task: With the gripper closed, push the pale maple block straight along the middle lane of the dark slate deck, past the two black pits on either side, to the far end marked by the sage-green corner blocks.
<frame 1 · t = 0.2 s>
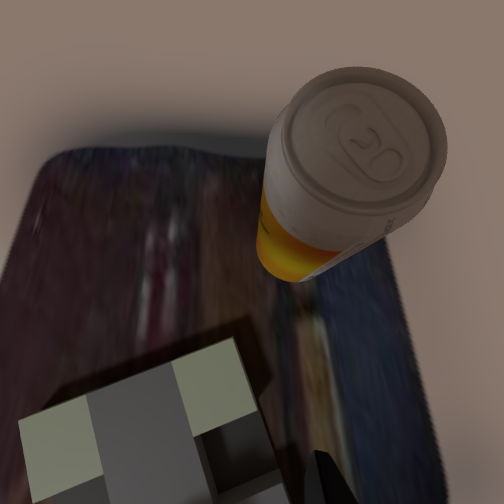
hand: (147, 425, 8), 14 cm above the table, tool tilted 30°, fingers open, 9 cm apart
beer can: (292, 247, 24), on the table
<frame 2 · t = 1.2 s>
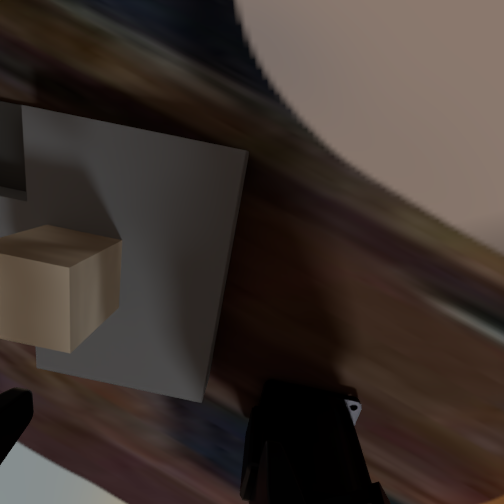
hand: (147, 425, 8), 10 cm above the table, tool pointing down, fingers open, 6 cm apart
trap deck: (65, 247, 17), on the table
block: (84, 267, 15), point 2 cm above the table, touching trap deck
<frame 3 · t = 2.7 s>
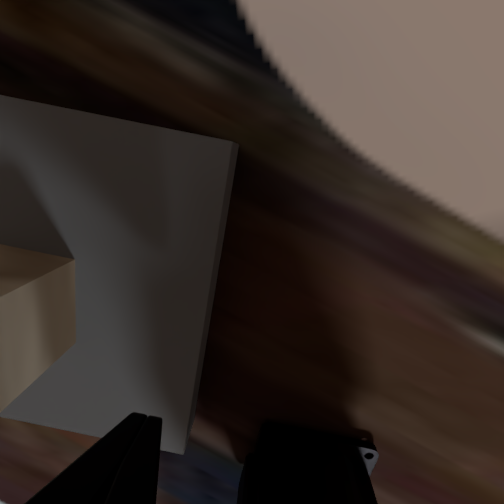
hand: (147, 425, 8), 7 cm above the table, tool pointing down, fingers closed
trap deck: (12, 265, 14), on the table
block: (29, 293, 12), point 2 cm above the table, touching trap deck
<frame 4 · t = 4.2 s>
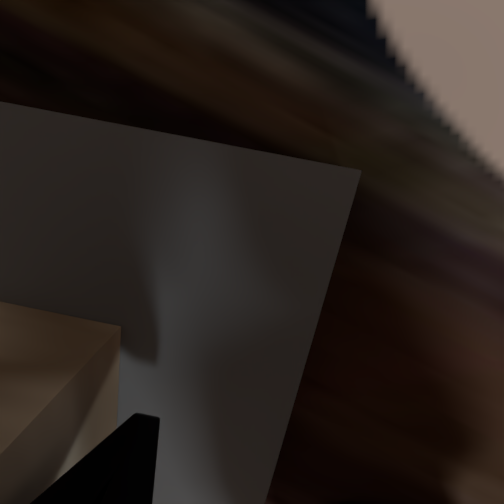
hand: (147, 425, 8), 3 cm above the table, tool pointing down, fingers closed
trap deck: (33, 318, 11), on the table
block: (57, 367, 9), point 2 cm above the table, touching gripper
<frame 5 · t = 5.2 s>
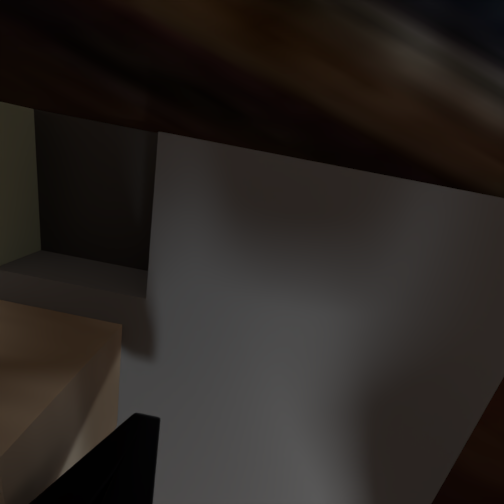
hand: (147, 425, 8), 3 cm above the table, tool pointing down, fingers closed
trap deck: (175, 346, 11), on the table
block: (58, 365, 9), point 2 cm above the table, touching gripper
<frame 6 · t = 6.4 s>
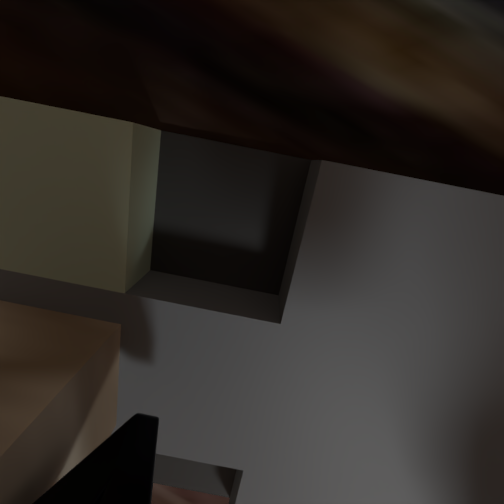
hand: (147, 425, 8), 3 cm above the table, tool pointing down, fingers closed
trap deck: (274, 364, 11), on the table
block: (56, 365, 9), point 2 cm above the table, touching gripper, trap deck
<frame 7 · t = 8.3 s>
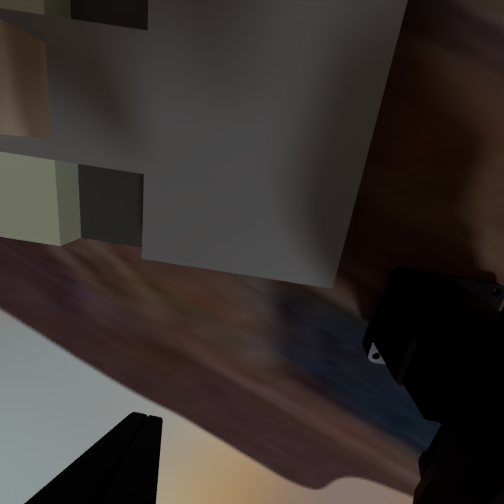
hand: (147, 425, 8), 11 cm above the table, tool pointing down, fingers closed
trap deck: (170, 115, 15), on the table
block: (6, 86, 13), point 2 cm above the table, touching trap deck
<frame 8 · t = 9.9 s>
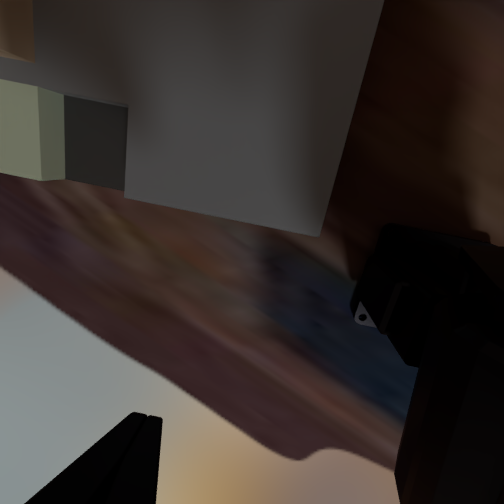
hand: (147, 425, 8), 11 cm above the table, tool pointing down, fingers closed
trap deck: (160, 50, 15), on the table
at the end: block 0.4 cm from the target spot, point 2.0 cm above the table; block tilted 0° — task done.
